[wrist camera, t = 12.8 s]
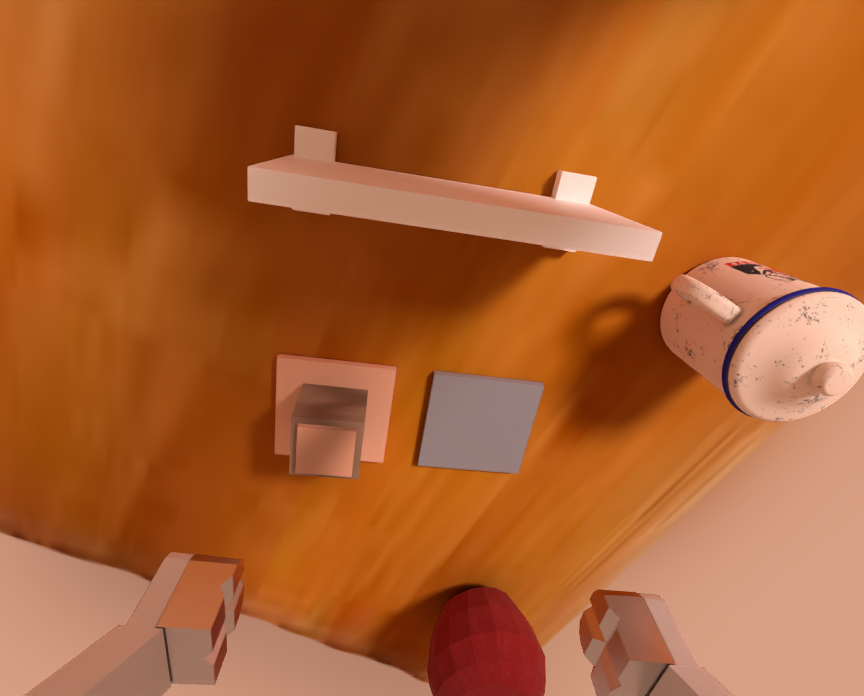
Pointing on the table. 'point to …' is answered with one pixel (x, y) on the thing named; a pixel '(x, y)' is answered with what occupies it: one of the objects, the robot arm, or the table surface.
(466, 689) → the apple
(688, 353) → the teacup with lid
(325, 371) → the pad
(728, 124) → the table surface
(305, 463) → the cube with pink top
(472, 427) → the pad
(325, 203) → the screen
